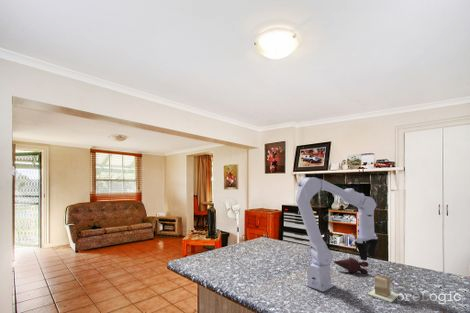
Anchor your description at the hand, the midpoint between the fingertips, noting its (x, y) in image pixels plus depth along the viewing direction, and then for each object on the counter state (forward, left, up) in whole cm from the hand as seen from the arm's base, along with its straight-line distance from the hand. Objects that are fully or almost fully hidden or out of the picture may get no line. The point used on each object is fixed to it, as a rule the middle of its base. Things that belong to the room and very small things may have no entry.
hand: (367, 258), depth 107 cm
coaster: (-7, -8, -10) cm, 15 cm away
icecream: (+8, +11, -11) cm, 18 cm away
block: (-7, -8, -10) cm, 14 cm away
